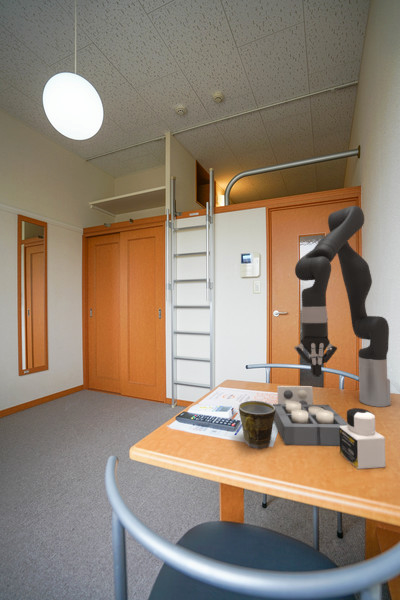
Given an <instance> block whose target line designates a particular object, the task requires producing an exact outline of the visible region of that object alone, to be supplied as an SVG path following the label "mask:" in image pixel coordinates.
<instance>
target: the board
mask: <svg viewBox="0 0 400 600" xmlns="http://www.w3.org/2000/svg"><path fill="white" fill-rule="evenodd" d="M272 405H273V406H274V407H275V417H274V422H273V423H274V424H275V426H276V429H277V431H278V433H279V435H280V437H281V439H282V442H283V444H284V445H285V446H309V447H310V446H314V447H315V446H317V447H318V446H321V447H340V435H339V426H345V425H347V420H345V419H344V418H343V417H342V416H341V415H340V414H338V413H337V411H336V410H334V408H332V406H331V405H329V404H313V405H310V404H301V410H305V411H307V412H308V424H293V423H292V415H291V414H286V404H278V403H272ZM312 406H316V407H321V408H323V409H324V410H328V411H331V412H332V413H333V418H334V424H317V422H316V414H309V411H308V408H309V407H312Z"/></svg>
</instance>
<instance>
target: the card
mask: <svg viewBox="0 0 400 600" xmlns="http://www.w3.org/2000/svg"><path fill="white" fill-rule="evenodd" d="M313 388H314V387H313V386H311V385H277V404H286V402H288V401H296V402H299V403H301V404H310V405H314V393H313V391H314V390H313Z"/></svg>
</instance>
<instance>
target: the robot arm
mask: <svg viewBox="0 0 400 600" xmlns="http://www.w3.org/2000/svg"><path fill="white" fill-rule="evenodd" d="M364 223H365V214H364V212H363V210H362V208H361V207H360V206H358V205H350V206H347V207H344V208H341V209H339V210H336V211H333V212H331V213H330V214H329V215H328V218H327V225H328V230H329V231H330V232H329V233H327V234H326V235H325V236H323V237H322V238H321V239H320V240H319V241H318V242H317V244H316V245H315V246H314V248H313V249H312V250H310V251H309V252H307V253H306V254H304V255H303V256H302V257H301V258H300V259H299V260H298V261H297V262H296V264H295V268H294V274H295V276H296V277H297V279H298V280H300V281H305V282H308V281H313V284H312V286H309V287H307V288H304V289H302V292H301V306H302V307H301V337H302V338H301V339H300V344H298V345H296V346H295V345H294V350H295V351H296V352H297V354H298V355H299V356H300V357H301V359H302V360H303V361H304V362H306V363H307V364H309V365H310V373H311V375H312V376H313V377H315V378H317V377H318V378H319V377H320V376H321V375H322V364H327V363H328V362H329V360H331V358H332V357H333V355H334V354H335V352H336V351H337V350H338V347H337V346H334V345H333V344H332V343H330V339H329V329H328V328H329V327H328V321H329V318H328V310H327V297H326V296H327V295H326V293H327V290H328V285H329V280H330V278H331V272H332V264H331V262H332V261H333V260H334V259H335V257H336V256H337V257H338V261H339V265H340V270H341V275H342V281H343V282H344V283H343V284H344V287H345V290H346V294H347V299H348V304H349V310H350V321H351V326H352V327H351V328H352V330H353V334H354V335H355V336H356V337H357V338H358V339H360V340H362V339H363V340H368V341H369V345H368V346H367V347H363V348H360V349H359V350H358V381H359V382H358V386H359V388H358V389H359V392H358V393H359V402H360V403H361V404H364V405H366V406H372V407H378V408H379V407H383V408H384V407H388V406H391V404H392V401H391V380H390V379H389V378H388V352H389V338H390V326H389V322H388V320H387V319H386V318H385V317H383V316H376V315H368V314H367V310H366V309H367V308H366V301H367V298H368V296H369V295H368V294H369V293H370V290H371V288H372V284H373V279H372V275H371V270H370V266H369V264H368V262H367V260H365V259H364V258H363V257H362V256H361V255H360V254H359V253H357V252H356V250H355V249H354V248H353V247H351V245H350V243H349V240H350V239H351V238H352V237H353V236H354V235H356V233H357V232H359V231H360V230H361V229H362V227H363V226H364ZM304 350H306V352H307V354H308V356H307V355H306V353H304ZM324 352H325V353H324Z"/></svg>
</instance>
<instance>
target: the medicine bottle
mask: <svg viewBox="0 0 400 600" xmlns="http://www.w3.org/2000/svg"><path fill="white" fill-rule="evenodd" d="M346 422H347V425H345V426H339V435H340V446H339V453H340V455H342V456H343V457H344V458H345V459H346V460H347V461H348V462H349V463H350V464H351V465H353V466H354V467H355V468H356V469H357V470H361V469H362V470H363V469H364V470H365V469H376V468H377V469H378V468H385V467H386V466H387V465H386V437H385V436H384V435H382V434H380V433H379V432H377V431H376V415H375V414H374V413H373V412H371V411H369V410H367V409H364V408H359V407H358V408H357V407H353V408H349V409H348V410H347V411H346Z"/></svg>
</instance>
